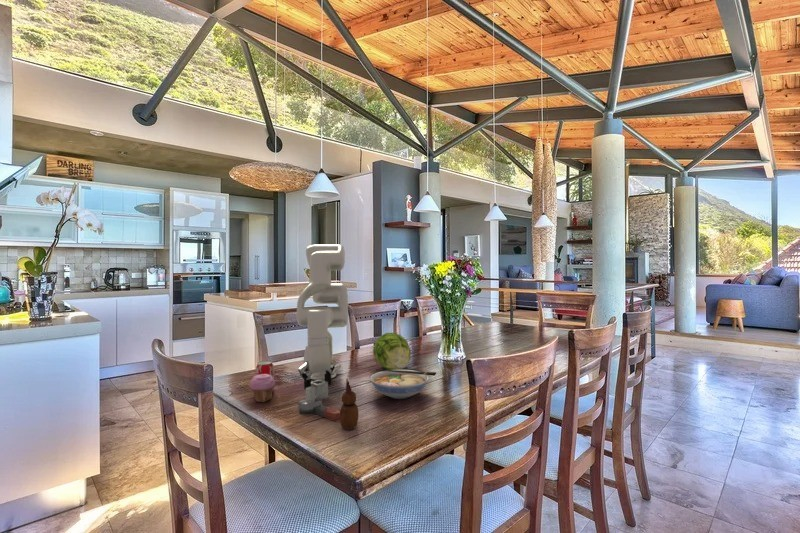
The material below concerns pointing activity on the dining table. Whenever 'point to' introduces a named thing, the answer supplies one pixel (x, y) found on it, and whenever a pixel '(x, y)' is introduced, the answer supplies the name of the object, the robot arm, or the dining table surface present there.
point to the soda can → (265, 368)
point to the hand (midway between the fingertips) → (318, 386)
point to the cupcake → (262, 387)
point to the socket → (320, 389)
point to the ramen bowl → (400, 382)
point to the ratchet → (317, 406)
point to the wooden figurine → (348, 409)
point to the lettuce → (392, 351)
